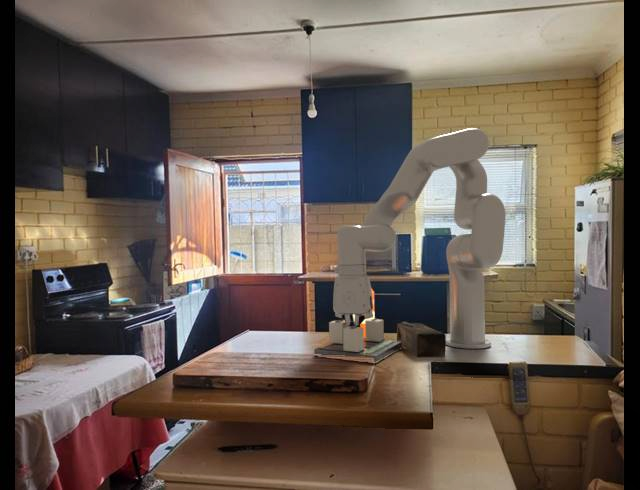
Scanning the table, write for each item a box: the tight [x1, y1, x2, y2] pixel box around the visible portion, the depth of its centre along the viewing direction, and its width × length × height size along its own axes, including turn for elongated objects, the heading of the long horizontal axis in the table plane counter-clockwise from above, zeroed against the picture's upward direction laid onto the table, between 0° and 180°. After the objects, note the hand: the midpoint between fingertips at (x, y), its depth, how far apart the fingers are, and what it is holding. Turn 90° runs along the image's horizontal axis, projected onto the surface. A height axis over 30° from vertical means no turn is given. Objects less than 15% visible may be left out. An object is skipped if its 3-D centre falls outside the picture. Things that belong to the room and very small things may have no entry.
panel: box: [313, 338, 403, 362], centre depth 123 cm, size 19×17×2 cm
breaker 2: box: [365, 317, 385, 342], centre depth 129 cm, size 4×4×6 cm
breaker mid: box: [328, 319, 348, 344], centre depth 126 cm, size 4×4×6 cm
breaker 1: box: [343, 326, 364, 352], centre depth 117 cm, size 4×4×6 cm
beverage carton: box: [396, 321, 447, 358], centre depth 127 cm, size 8×19×7 cm, turn 7°
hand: (354, 339), depth 124 cm, fingers closed
